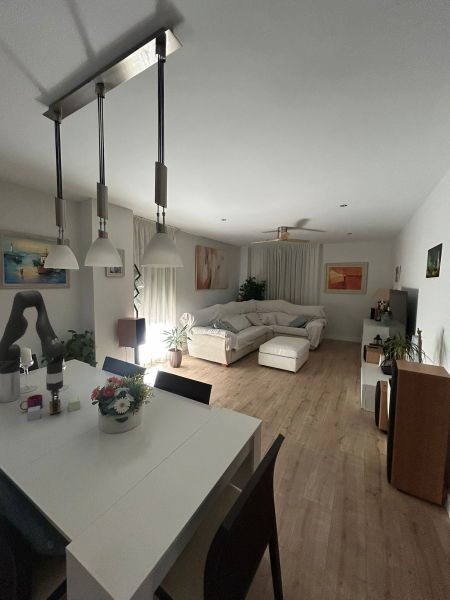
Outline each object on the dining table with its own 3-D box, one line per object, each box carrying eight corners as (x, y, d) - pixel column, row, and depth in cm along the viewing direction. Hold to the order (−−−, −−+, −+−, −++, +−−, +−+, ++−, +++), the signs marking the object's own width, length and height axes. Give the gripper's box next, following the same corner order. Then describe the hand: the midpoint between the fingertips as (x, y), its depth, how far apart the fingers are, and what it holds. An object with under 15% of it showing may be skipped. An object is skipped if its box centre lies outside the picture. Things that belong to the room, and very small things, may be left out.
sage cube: (68, 407, 138) (68, 399, 137) (78, 405, 141) (78, 397, 140) (69, 411, 134) (69, 403, 133) (79, 409, 137) (79, 400, 136)
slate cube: (28, 417, 127) (28, 408, 127) (40, 414, 130) (40, 405, 130) (27, 421, 123) (27, 412, 123) (40, 418, 126) (40, 409, 126)
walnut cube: (49, 410, 133) (49, 401, 132) (60, 407, 136) (60, 399, 135) (49, 414, 129) (49, 405, 128) (60, 411, 132) (60, 402, 131)
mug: (43, 408, 136) (43, 397, 135) (21, 415, 128) (20, 403, 128) (40, 404, 140) (40, 393, 140) (18, 411, 133) (18, 399, 132)
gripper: (46, 376, 134) (46, 405, 135) (46, 386, 123) (46, 417, 124) (62, 374, 139) (62, 402, 140) (63, 383, 127) (63, 413, 129)
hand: (55, 409), depth 132 cm, fingers closed on walnut cube, 5 cm apart
